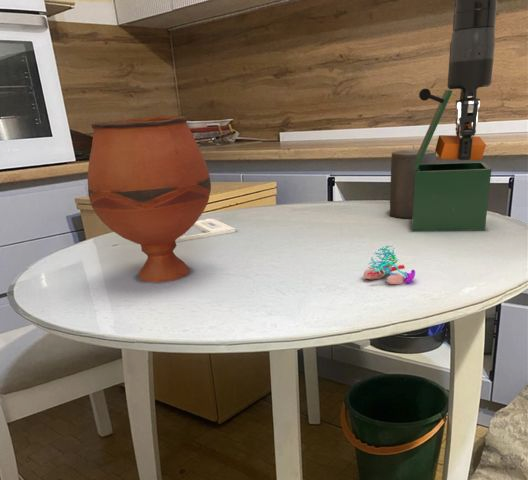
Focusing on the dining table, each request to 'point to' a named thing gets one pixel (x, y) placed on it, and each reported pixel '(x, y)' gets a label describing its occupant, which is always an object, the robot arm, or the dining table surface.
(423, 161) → the pillar candle
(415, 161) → the bin lid
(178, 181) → the goblet
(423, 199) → the bin
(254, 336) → the dining table surface
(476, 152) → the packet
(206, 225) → the photo frame
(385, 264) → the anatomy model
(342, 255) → the dining table surface
